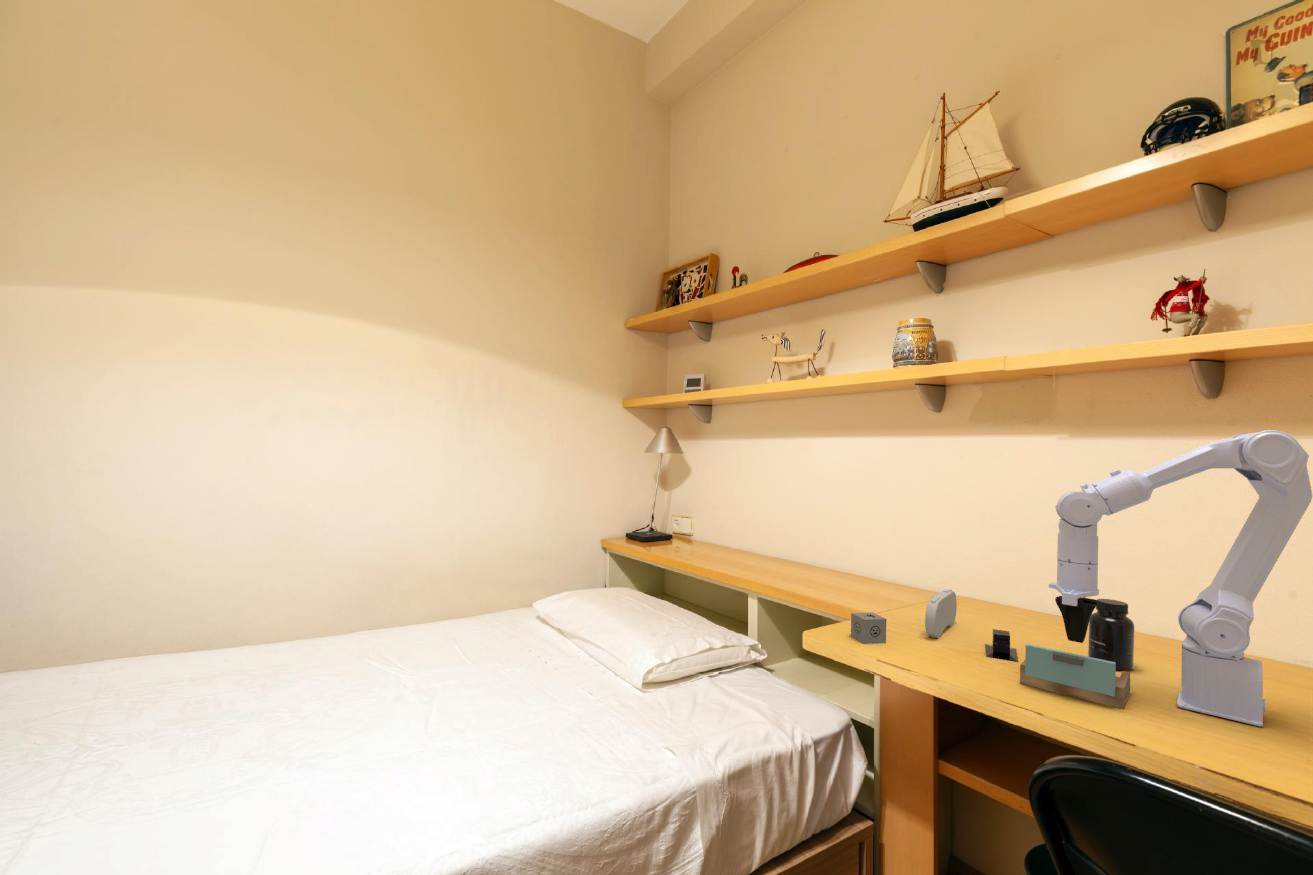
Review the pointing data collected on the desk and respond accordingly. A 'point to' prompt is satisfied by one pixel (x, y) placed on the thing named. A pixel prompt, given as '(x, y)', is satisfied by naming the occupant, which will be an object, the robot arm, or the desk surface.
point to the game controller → (940, 613)
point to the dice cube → (868, 628)
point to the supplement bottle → (1112, 634)
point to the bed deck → (1120, 689)
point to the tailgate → (1070, 669)
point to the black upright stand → (1001, 647)
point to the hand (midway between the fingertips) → (1075, 640)
